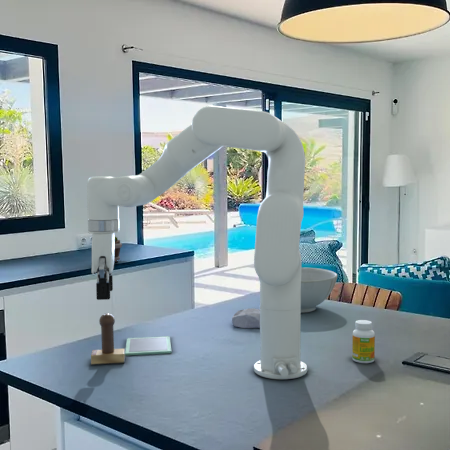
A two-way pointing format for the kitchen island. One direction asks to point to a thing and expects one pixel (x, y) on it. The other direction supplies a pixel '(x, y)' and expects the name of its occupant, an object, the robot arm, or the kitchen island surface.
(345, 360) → the kitchen island surface
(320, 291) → the decorative bowl
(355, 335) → the supplement bottle
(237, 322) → the stone block
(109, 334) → the stamp
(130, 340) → the ink pad
